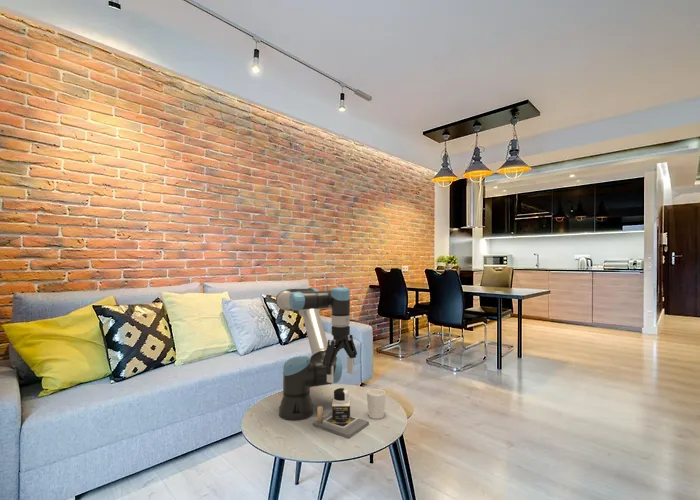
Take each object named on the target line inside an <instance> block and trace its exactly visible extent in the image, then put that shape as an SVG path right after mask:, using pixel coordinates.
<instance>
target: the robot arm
mask: <svg viewBox="0 0 700 500" xmlns="http://www.w3.org/2000/svg"><path fill="white" fill-rule="evenodd" d="M275 304H276V306H277V308H278V309H280V310H283V311H285V312H286V311H287V312H296V311H297V312H298V314H299V316H300V317H301V318H303V323H304V327H305V332H306V335H307V340H308V343H309V346H310V351H311V356H310V357H309V356H295V357H292V358H289V359H288V360H286V361H285V362H284V363H283V367H282V368H283V371H282V375H283V376H282V378H283V379H282V386H283V387H282V389H283V390H282V399H281V402H280V405H279V408H278V415H279V417H280V418H282V419H284V420H288V421H299V420H305V419H308V418H309V417H311V416H313V414H314V413H315V409H314V407H315V406H314V404H313V401H312V397H311V388H313V387H314V388H315V387H321V386H327V385H330V386H331V385H332V384H338V383H339V382H340V381H341V379H342V375H343V362H342V359H341V357H340V356H338V353H339V352H340V351H341V350H343V349H344V351H345V352H346V355H347V356H348V357H347V358H346V366H347V367H346V370H347V371H346V373H347V374H351V375H354V363H355V362H354V361H355V358H357V355H358V351H357V349H356V346H355V342H354V336H353V334H351V329H350V328H351V326H350V324H351V323H350V322H351V320H350V319H351V318H350V317H351V316H350V312H351V311H350V310H351V307H350V305H351V293H350V289H349V288H348V287H344V286H343V287H342V286H341V287H339V286H338V287H333V288H332V289H329V290H328V289H326V290H319V289H318V288H314V287H313V288H312V287H308V288H288V289H285V290H281V291H280V292H278V294H277V295H276V296H275ZM321 309H323V310H324V309H331V320H330V321H331V336H333V339H328V340H327V336H326V332H325V328H324V326H323V322H322V318H321V314H320V311H321Z"/></svg>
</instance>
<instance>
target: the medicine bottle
mask: <svg viewBox="0 0 700 500" xmlns="http://www.w3.org/2000/svg"><path fill="white" fill-rule="evenodd" d="M349 392H350V391H349V390H348V389H347V388H344V387H340V388H336V389H335V390H334V391H333V398H332V399H333V404H332V403H331V412H332V423H350V416H351V398H350V396H349V395H350V393H349Z"/></svg>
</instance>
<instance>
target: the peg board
mask: <svg viewBox="0 0 700 500" xmlns="http://www.w3.org/2000/svg"><path fill="white" fill-rule="evenodd" d="M333 399H334V398H332V399H331V405H332V404H333ZM323 407H324V406H322V405H318V406H317V407H316V408H317V409H316V412H317V413H316V417H317V418H316V419H317V420H315V421H314V422H312V426H313V427H315V428H318V429H321V430H323V431H326V432H329V433H332V434H334V435H337V436H340V437H343V438H345V439H348V440H349V439H351V438H352V437H353V436H355V435H356V434H358V433H359V432H361V431H362V430H363V429H365V428H366V427H367V426H369V425H370V422H369V421H368V420H364V419H361V418H359V417H356V416H352V415H350V423H332V411H331V412H330V413H327V414H326V415H323V414H324V410H323V409H324V408H323Z"/></svg>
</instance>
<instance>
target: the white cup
mask: <svg viewBox="0 0 700 500" xmlns="http://www.w3.org/2000/svg"><path fill="white" fill-rule="evenodd" d="M366 400H367V401H366V402H367V413H368V414H367V416H368V415H369V416H368V417H369V418H371V419H374V420H377V419H378V420H379V419H383V418H384V417H385V410H386V406H385V405H386V391H385V390H383V389H380V388H379V389H378V388H371V389H368V390H367V391H366Z"/></svg>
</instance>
